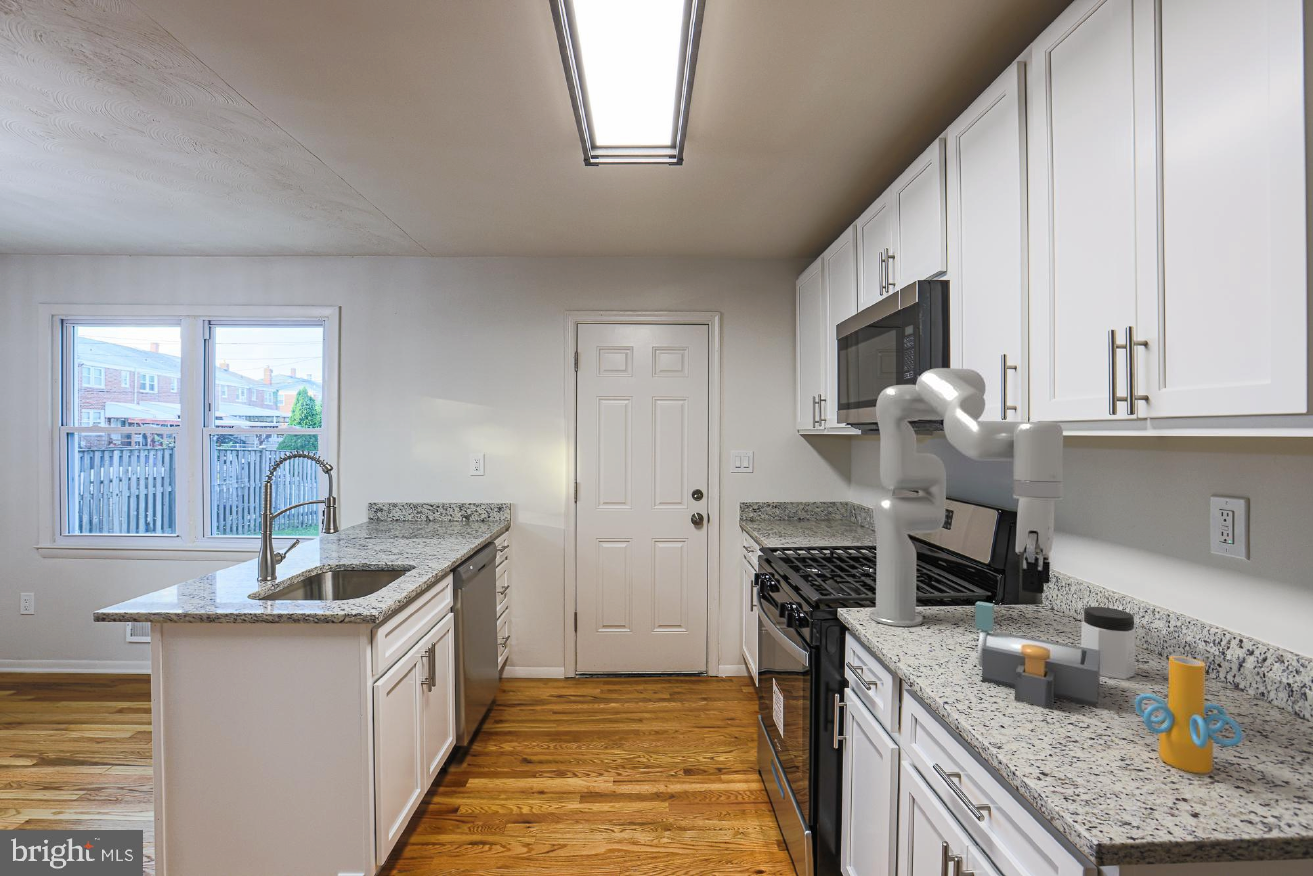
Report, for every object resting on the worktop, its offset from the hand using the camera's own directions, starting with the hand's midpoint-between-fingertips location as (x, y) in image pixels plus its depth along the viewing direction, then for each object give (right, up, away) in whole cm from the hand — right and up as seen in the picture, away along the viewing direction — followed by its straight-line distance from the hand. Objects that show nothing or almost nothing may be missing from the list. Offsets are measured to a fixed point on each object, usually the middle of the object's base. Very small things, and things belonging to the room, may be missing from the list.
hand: (1036, 586), depth 111 cm
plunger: (0, -18, 0) cm, 18 cm away
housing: (+4, -20, +5) cm, 21 cm away
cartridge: (+4, -19, +9) cm, 22 cm away
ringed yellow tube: (+9, -21, -21) cm, 31 cm away
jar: (+23, -21, +14) cm, 34 cm away
